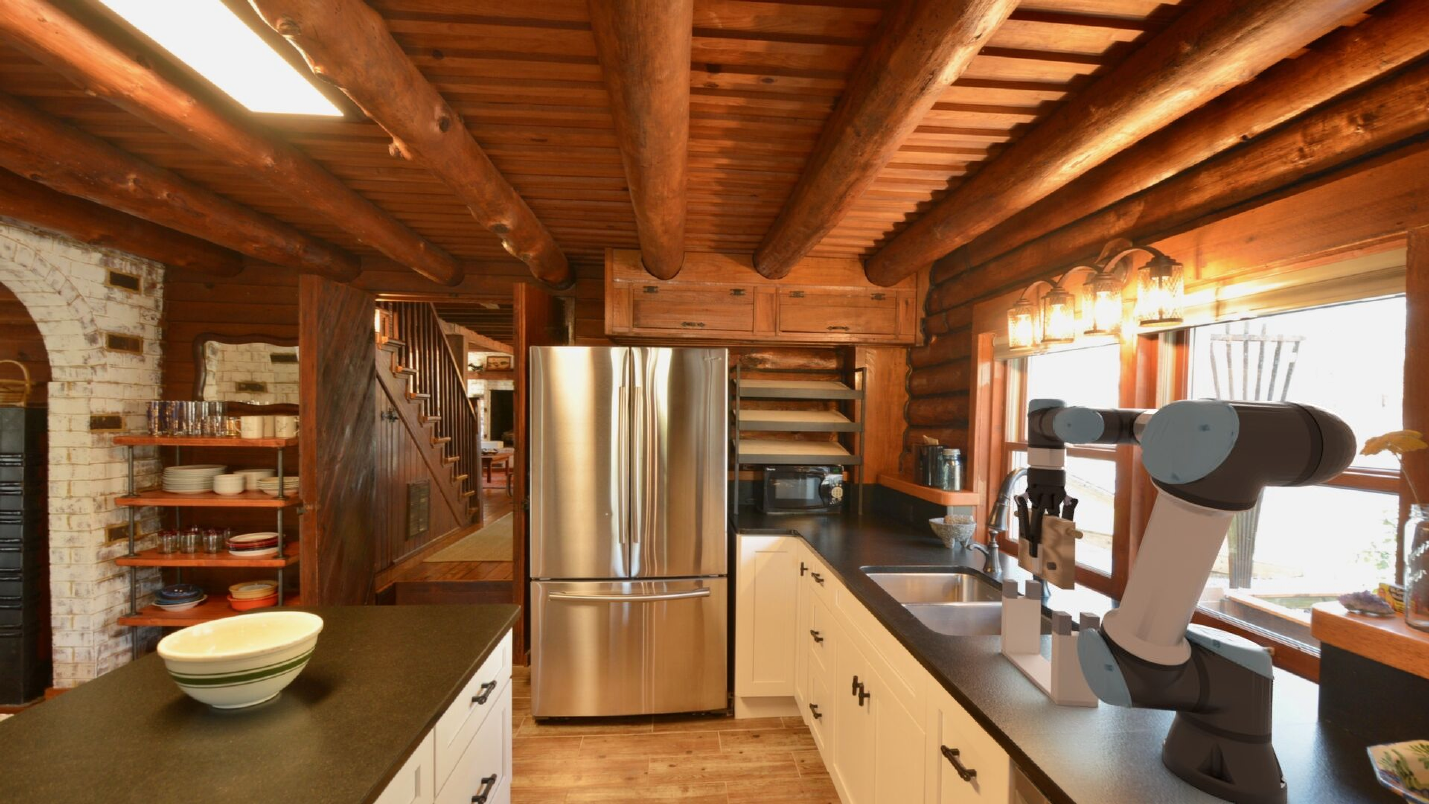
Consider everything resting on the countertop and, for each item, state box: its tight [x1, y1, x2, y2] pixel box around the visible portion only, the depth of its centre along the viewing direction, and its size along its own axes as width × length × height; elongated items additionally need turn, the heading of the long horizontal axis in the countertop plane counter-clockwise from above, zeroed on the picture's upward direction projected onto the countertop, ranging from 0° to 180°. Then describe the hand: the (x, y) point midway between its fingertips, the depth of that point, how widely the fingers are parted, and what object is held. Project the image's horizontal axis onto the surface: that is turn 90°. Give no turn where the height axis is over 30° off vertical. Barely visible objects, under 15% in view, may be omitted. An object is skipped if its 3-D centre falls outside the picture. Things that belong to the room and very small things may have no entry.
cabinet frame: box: [1000, 578, 1101, 708], centre depth 124 cm, size 25×8×18 cm, turn 177°
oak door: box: [1013, 507, 1084, 591], centre depth 124 cm, size 25×4×14 cm, turn 178°
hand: (1044, 572), depth 124 cm, fingers closed on oak door, 2 cm apart
